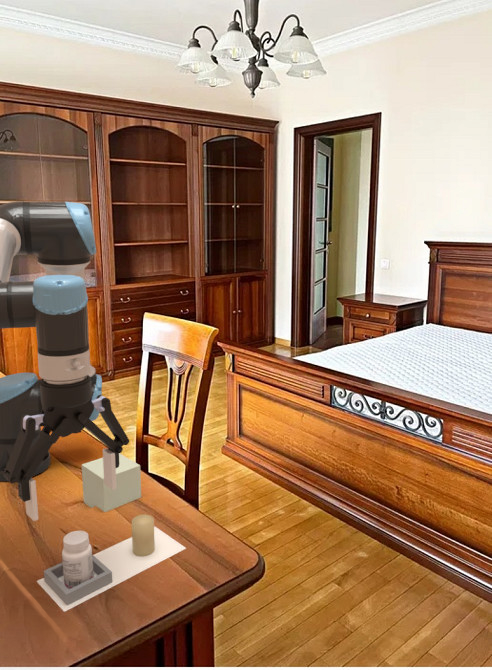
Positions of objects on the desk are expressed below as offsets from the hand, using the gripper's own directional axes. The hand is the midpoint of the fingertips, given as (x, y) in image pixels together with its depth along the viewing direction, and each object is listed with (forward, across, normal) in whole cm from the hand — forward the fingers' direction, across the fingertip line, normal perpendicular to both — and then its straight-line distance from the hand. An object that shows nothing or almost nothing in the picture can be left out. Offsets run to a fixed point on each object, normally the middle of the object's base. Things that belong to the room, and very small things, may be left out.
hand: (73, 500), depth 88 cm
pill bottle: (+15, 0, -1) cm, 15 cm away
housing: (+17, +19, +20) cm, 32 cm away
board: (+16, +7, -1) cm, 18 cm away
